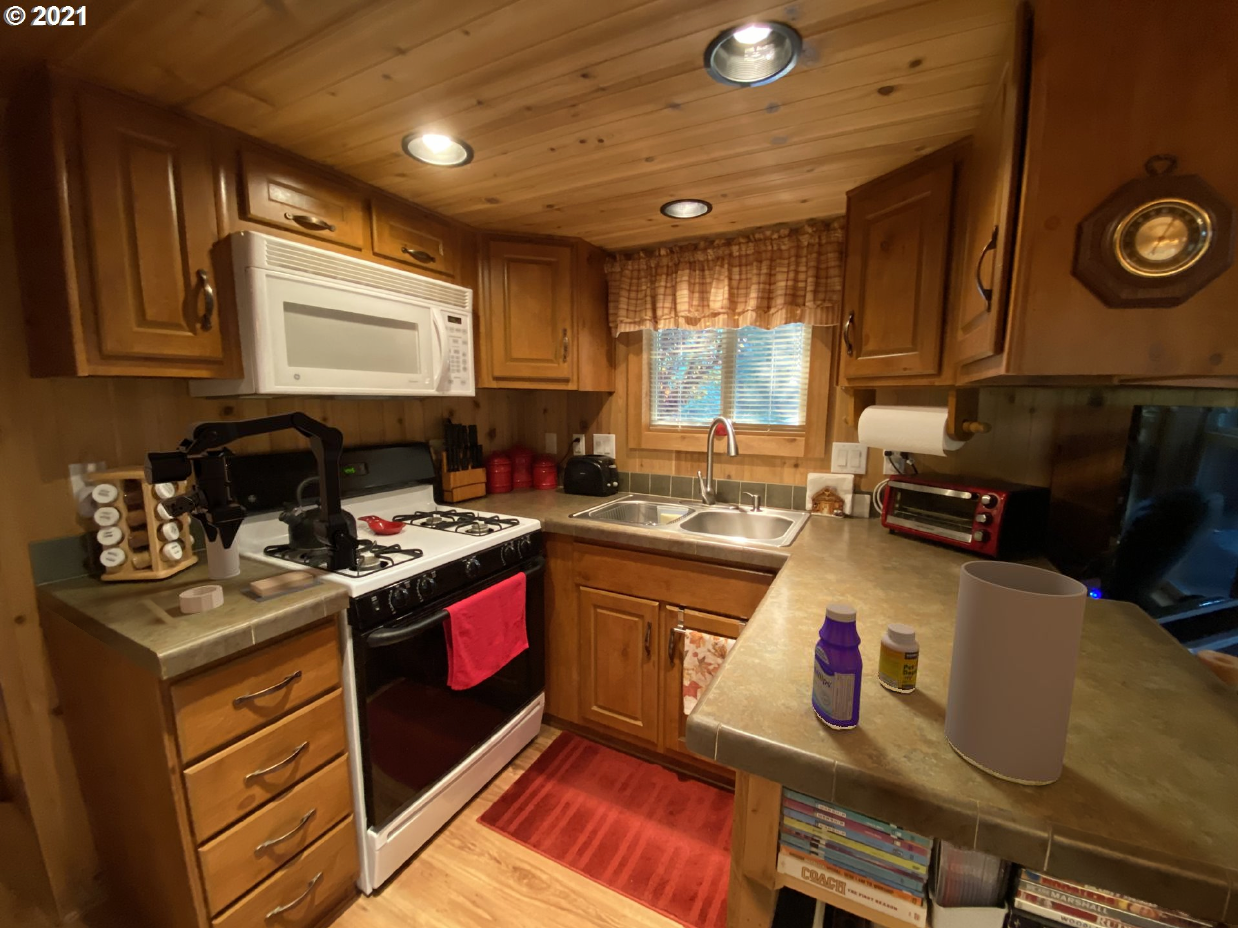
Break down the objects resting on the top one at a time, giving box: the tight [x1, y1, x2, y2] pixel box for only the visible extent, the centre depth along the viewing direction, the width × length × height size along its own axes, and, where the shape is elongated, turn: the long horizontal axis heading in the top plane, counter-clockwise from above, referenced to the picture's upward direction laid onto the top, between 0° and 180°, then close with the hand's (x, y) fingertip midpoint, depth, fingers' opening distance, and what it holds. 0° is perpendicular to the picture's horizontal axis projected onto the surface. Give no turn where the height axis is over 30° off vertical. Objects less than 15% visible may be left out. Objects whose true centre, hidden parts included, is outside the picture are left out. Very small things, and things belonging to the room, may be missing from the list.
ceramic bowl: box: [178, 584, 224, 614], centre depth 108 cm, size 7×7×4 cm
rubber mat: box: [239, 577, 325, 604], centre depth 119 cm, size 14×12×1 cm
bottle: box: [811, 602, 864, 727], centre depth 72 cm, size 7×6×17 cm
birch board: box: [249, 569, 314, 598], centre depth 119 cm, size 11×7×2 cm, turn 146°
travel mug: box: [204, 533, 241, 581], centre depth 126 cm, size 6×7×20 cm
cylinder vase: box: [943, 560, 1088, 782], centre depth 64 cm, size 12×12×25 cm
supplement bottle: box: [877, 622, 921, 690], centre depth 81 cm, size 6×6×10 cm
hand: (219, 545), depth 110 cm, fingers open, 9 cm apart
